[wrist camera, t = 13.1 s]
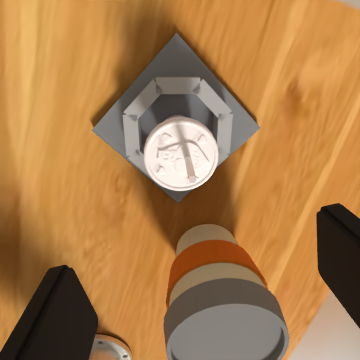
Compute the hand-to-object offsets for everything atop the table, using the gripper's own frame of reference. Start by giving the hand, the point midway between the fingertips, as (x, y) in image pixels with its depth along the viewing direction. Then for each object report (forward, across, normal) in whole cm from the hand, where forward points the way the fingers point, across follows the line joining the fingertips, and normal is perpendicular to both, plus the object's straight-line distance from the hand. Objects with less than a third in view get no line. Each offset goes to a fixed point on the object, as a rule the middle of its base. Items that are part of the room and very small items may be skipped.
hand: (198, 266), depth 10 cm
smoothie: (+23, 0, 0) cm, 23 cm away
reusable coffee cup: (+24, 0, +19) cm, 30 cm away
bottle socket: (+24, 0, 0) cm, 24 cm away
